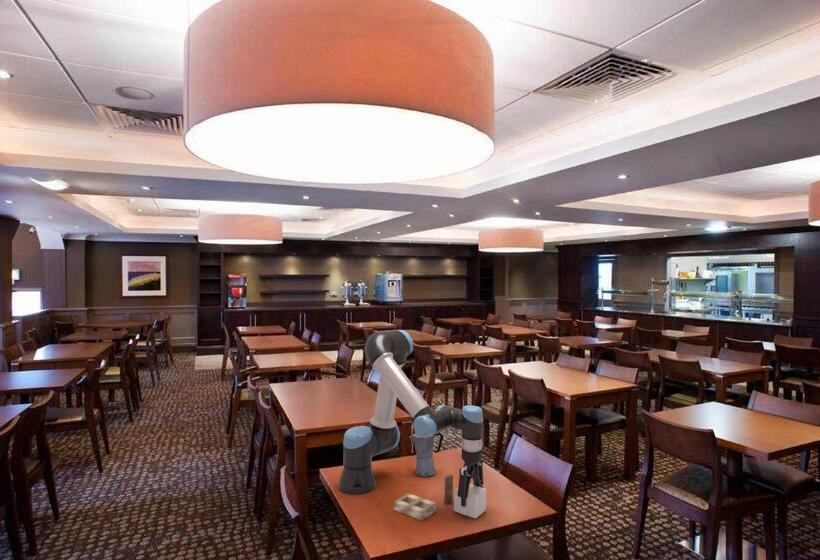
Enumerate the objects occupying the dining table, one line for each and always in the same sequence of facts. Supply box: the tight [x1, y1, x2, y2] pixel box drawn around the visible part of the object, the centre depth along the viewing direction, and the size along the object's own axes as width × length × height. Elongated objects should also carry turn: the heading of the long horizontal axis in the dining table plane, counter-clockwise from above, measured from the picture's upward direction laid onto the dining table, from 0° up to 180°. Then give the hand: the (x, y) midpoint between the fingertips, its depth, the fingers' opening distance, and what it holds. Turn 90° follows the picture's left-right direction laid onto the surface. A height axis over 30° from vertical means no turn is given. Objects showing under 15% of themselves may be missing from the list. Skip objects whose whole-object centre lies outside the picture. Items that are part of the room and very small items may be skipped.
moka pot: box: [409, 432, 444, 478], centre depth 214 cm, size 10×15×20 cm, turn 107°
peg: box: [444, 473, 454, 504], centre depth 187 cm, size 3×3×10 cm
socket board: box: [393, 492, 437, 521], centre depth 179 cm, size 13×9×3 cm
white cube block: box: [453, 483, 487, 520], centre depth 179 cm, size 9×8×8 cm
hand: (470, 509), depth 179 cm, fingers closed on white cube block, 8 cm apart
